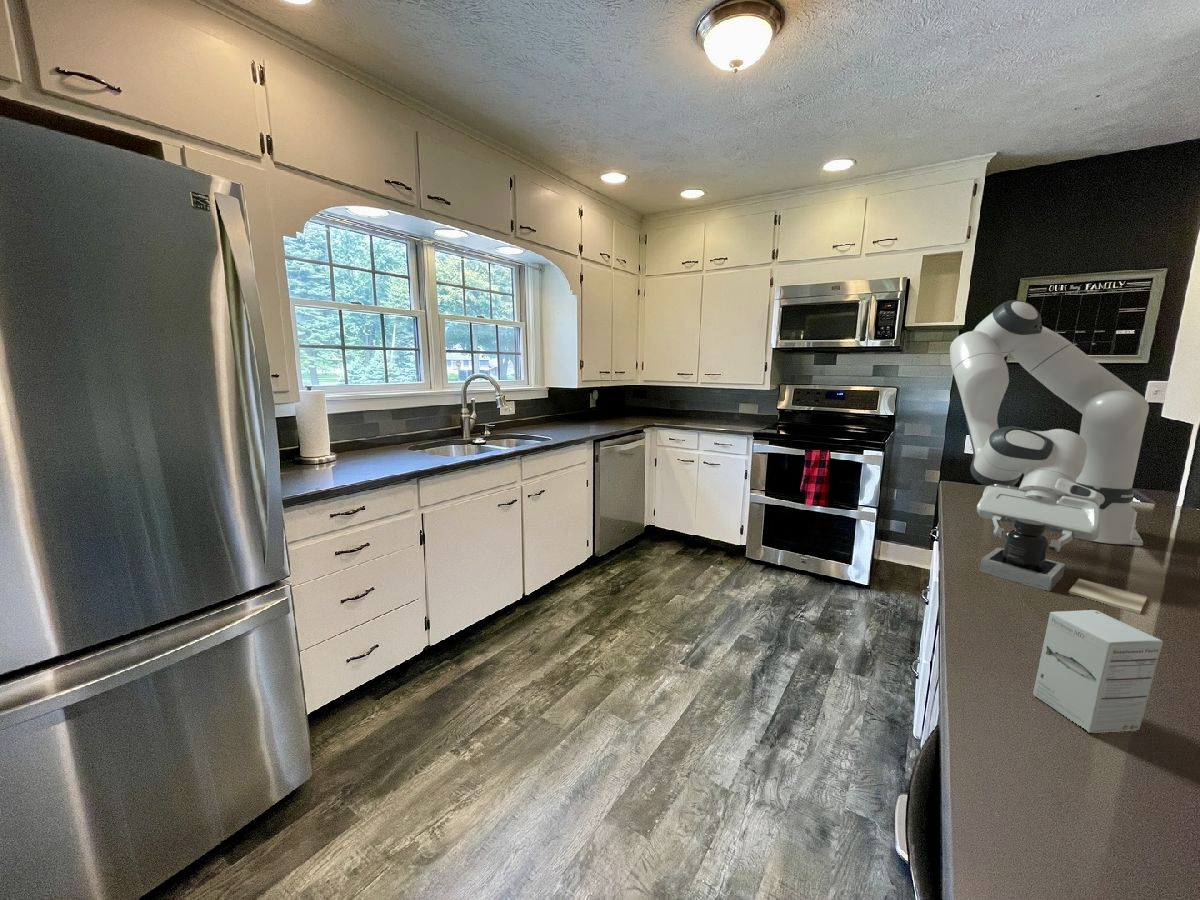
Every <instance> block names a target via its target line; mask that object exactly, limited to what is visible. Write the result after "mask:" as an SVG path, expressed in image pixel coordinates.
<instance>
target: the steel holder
mask: <svg viewBox="0 0 1200 900" xmlns="http://www.w3.org/2000/svg"><path fill="white" fill-rule="evenodd" d="M1003 552H1004V547H1003V548H1002V547H999V546H998V547H996V548H995V549H993V550H992V551H990V552H989V553H987V554H986V555H984V556H983V557H981V560H980V565H979V572H980V573H983V574H986V575H991V576H994V577H998V578H1000V579H1005V580H1007V581H1012V582H1015V583H1018V584H1021V585H1025V586H1029V587H1031V588H1035V589H1039V590H1043V591H1045V590H1047V591H1046V592H1050V591H1052V589H1053V588H1054V587H1055V586H1056V585H1057V584H1058V583H1059V582H1060V581H1061V580H1060V579H1063V577H1064V573H1065V567H1066V564H1065V563H1064V562H1063V563H1062V562H1059V561H1056V560H1050V559H1047V558H1046V559H1045V564H1044V569H1043V573H1045V574H1042V573H1039V572H1035V571H1031V570H1027V569H1024V568H1020V567H1016V566H1012V565H1009V564H1005V563H1002V558H1003ZM1059 580H1060V581H1059ZM1058 581H1059V582H1058ZM1057 582H1058V583H1057ZM1056 583H1057V584H1056Z"/></svg>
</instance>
